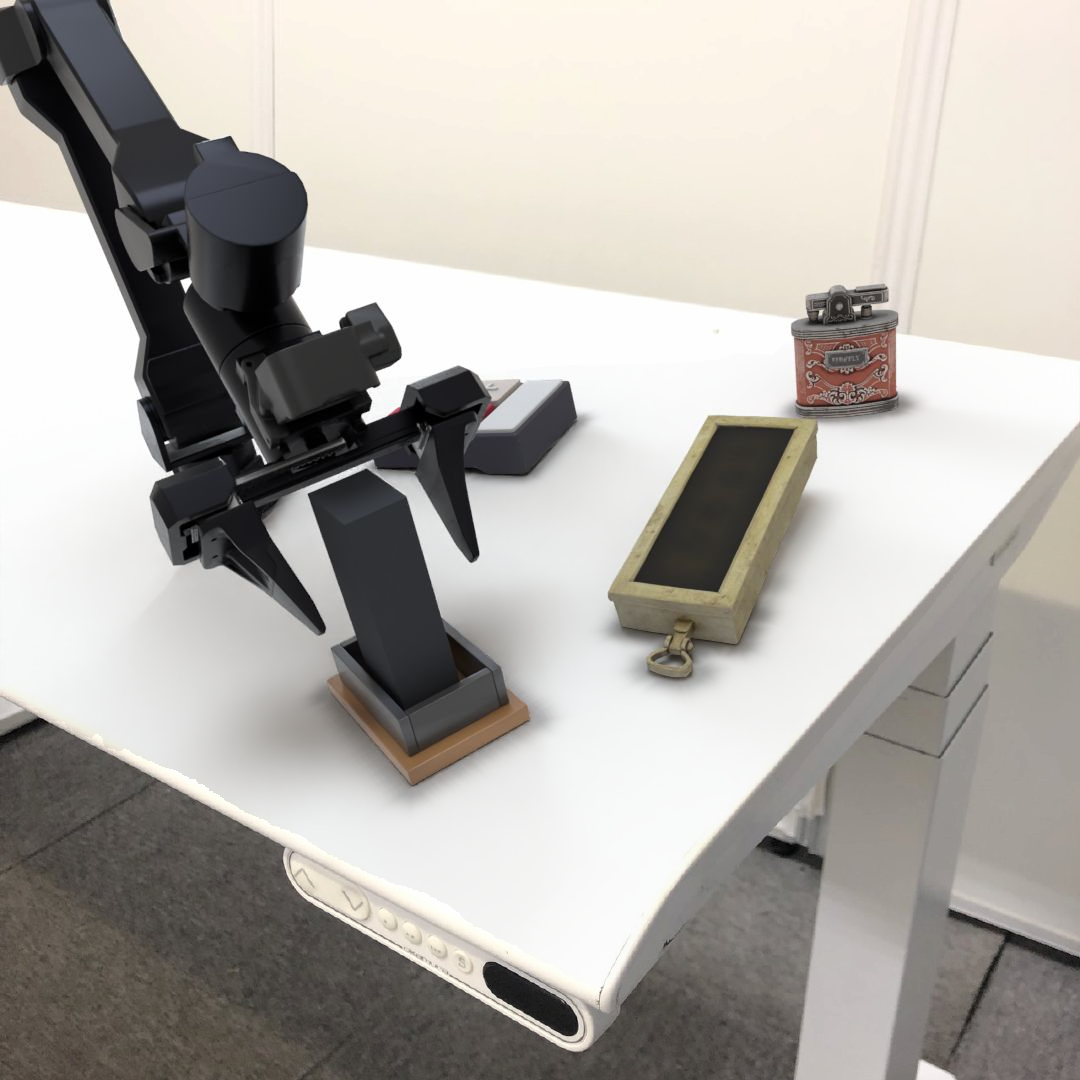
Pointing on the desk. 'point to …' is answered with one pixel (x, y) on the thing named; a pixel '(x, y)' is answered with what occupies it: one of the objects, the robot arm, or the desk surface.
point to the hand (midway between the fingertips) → (401, 594)
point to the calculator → (510, 427)
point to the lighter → (845, 354)
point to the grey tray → (429, 709)
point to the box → (715, 533)
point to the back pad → (385, 586)
